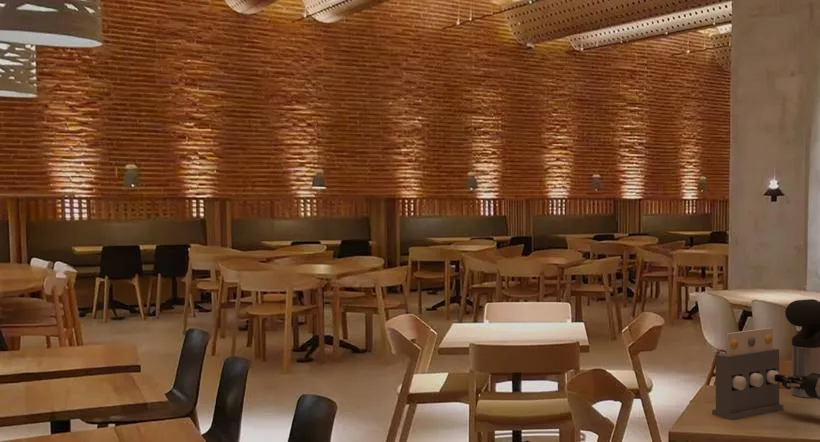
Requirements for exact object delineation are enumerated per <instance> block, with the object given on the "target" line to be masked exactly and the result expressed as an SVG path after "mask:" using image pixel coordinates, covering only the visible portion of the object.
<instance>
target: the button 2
mask: <svg viewBox="0 0 820 442" xmlns="http://www.w3.org/2000/svg"><path fill="white" fill-rule="evenodd" d="M777 374H780V371H779V372H778V371H774V370H769V369H768V370H766V382H768V383H772V384H777V383H778V382H776V381H775V375H777Z"/></svg>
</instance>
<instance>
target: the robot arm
mask: <svg viewBox="0 0 820 442" xmlns="http://www.w3.org/2000/svg"><path fill="white" fill-rule="evenodd" d="M784 312H785V318H786V320H787V321H788V322H789V323H790V324H791V325H793V326H795V327H799V328H801V329H800V331H799V332H798V333H796V334H795V335H793V336H792V338H791V374H789V375H785V374H780V373H779V374H777V375H775V381H776V382H779V383H782V386H783V387H784V388H785V389H787V390H790V389H791V394H792V395H793V396H795V397H801V398H813V399H817V400H820V301H819V300H817V299H814V298H813V299H811V298H810V299H798V300H796V299H795V300H794V301H791V302H790V303H789V304H788V305H787V306H786V308H785V311H784Z"/></svg>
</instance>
